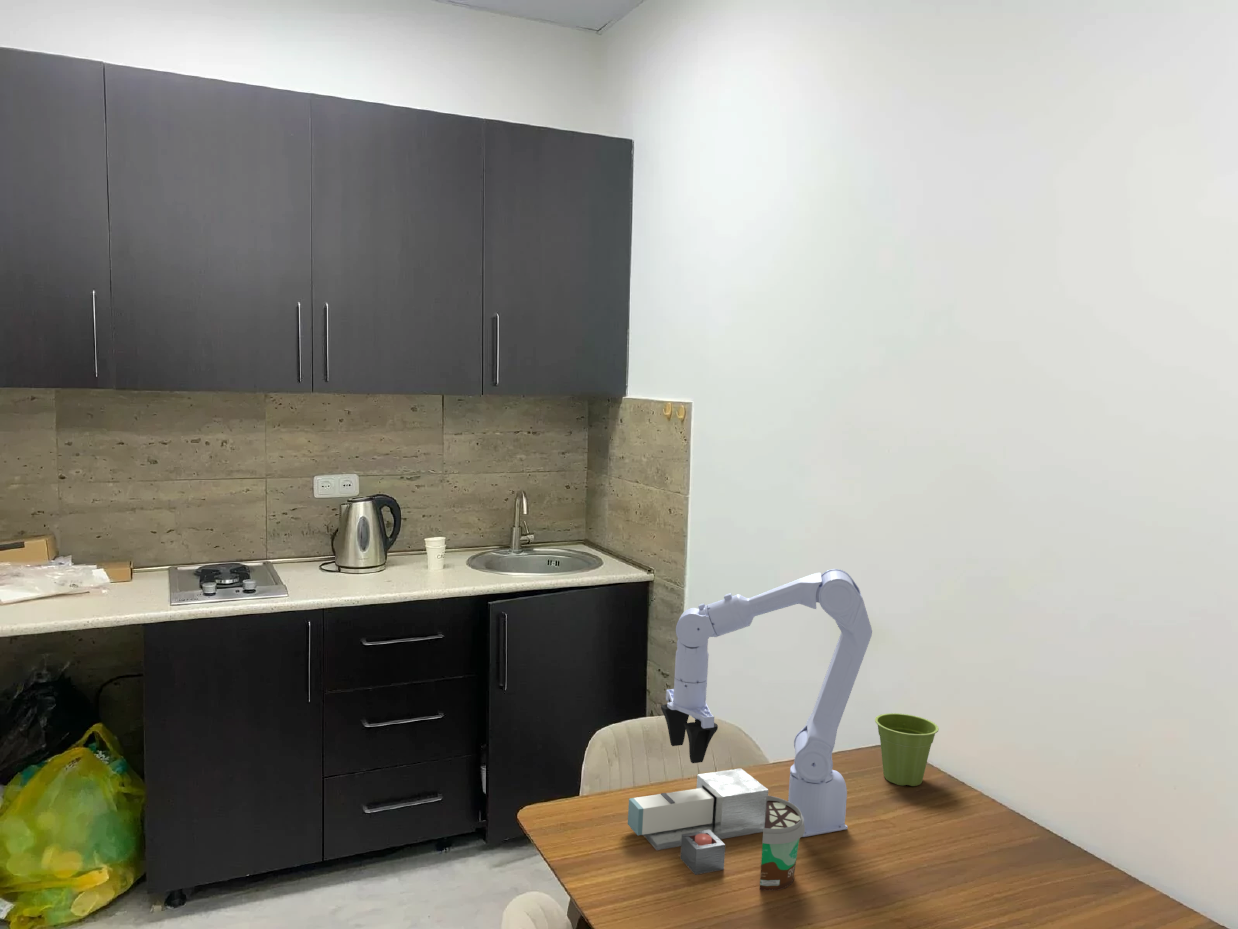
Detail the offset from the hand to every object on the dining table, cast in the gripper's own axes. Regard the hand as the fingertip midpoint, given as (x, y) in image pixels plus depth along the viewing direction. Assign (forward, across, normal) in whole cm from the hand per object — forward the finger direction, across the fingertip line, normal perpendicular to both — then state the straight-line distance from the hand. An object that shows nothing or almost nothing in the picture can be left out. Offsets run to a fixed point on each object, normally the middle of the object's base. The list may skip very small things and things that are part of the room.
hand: (686, 753), depth 158 cm
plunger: (+10, +18, -6) cm, 21 cm away
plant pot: (+10, +2, +47) cm, 48 cm away
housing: (+10, +7, 0) cm, 12 cm away
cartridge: (+9, +7, -6) cm, 13 cm away
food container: (+10, +25, +4) cm, 27 cm away
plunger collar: (+10, +18, -6) cm, 21 cm away
